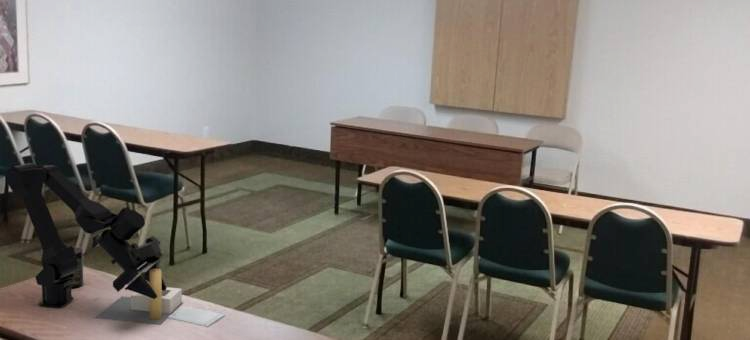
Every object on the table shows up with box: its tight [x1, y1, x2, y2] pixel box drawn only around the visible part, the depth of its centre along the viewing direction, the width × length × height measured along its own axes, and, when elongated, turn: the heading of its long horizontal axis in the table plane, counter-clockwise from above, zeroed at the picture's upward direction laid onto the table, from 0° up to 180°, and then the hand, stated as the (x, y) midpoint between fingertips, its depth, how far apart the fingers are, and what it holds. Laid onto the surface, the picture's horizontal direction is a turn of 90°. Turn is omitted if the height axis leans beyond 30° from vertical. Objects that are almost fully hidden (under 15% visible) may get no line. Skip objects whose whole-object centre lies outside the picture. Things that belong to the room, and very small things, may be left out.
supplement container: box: [68, 246, 85, 290], centre depth 212 cm, size 7×7×10 cm
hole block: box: [130, 286, 183, 313], centre depth 200 cm, size 11×8×4 cm
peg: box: [148, 268, 163, 320], centre depth 191 cm, size 3×3×13 cm
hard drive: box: [167, 306, 226, 328], centre depth 195 cm, size 2×8×12 cm
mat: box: [94, 295, 184, 326], centre depth 197 cm, size 18×16×1 cm
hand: (160, 293), depth 191 cm, fingers open, 6 cm apart
